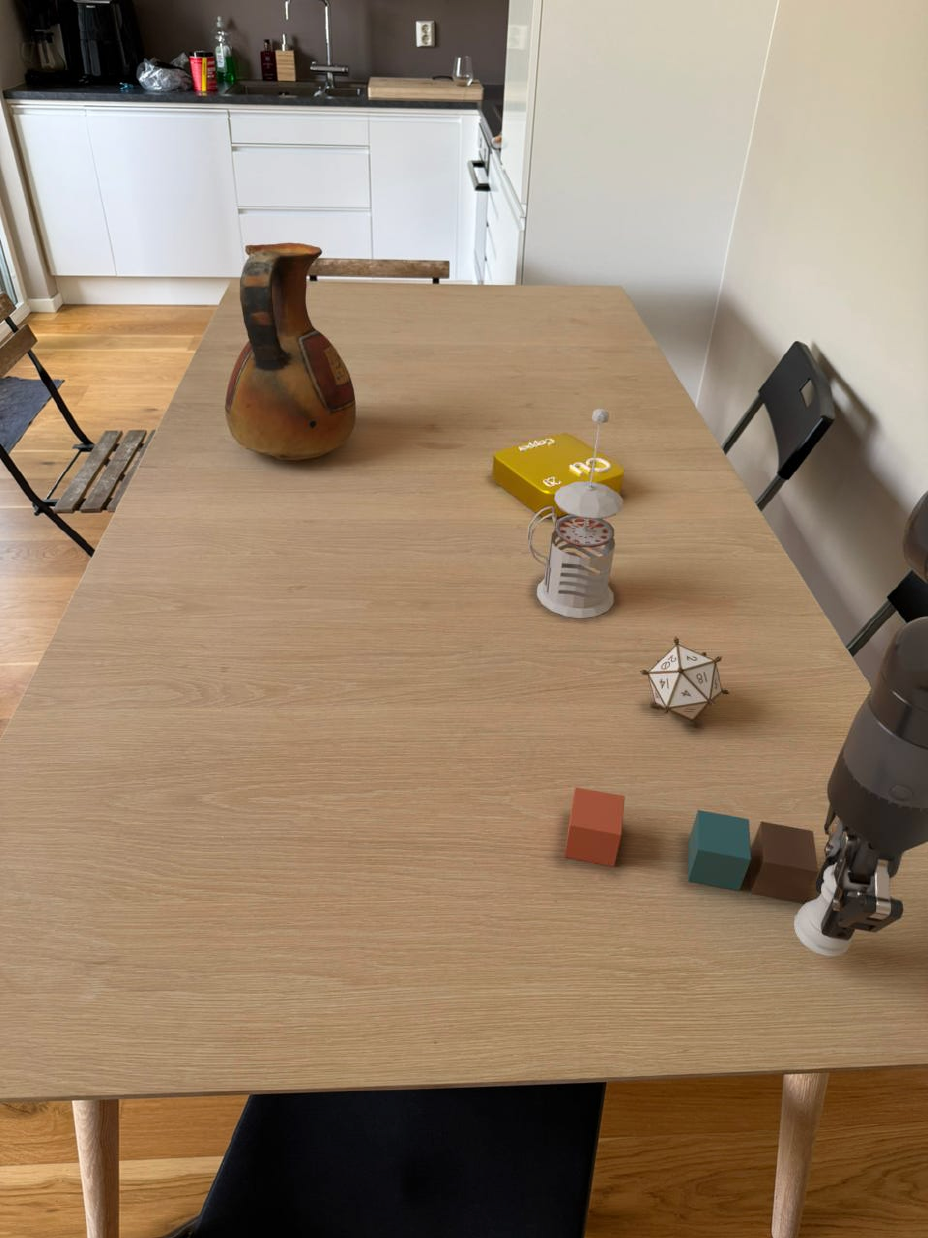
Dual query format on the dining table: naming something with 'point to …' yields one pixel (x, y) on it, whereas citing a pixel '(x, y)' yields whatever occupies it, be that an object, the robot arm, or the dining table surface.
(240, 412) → the ceramic pitcher
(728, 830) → the teal block
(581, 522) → the french press
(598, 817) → the terracotta block
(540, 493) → the element tile
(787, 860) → the walnut block
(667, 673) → the game die
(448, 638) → the dining table surface
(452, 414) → the dining table surface
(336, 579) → the dining table surface
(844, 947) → the rook chess piece
